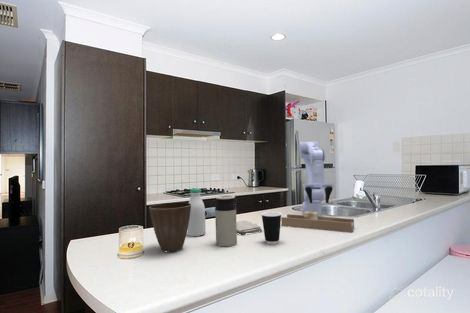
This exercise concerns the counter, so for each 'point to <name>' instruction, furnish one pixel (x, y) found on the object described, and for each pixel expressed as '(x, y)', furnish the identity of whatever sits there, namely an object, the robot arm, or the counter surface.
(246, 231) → the washcloth
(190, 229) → the milk bottle
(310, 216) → the maple block
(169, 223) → the plant pot
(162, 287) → the counter surface
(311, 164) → the robot arm
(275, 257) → the counter surface
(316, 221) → the trap track
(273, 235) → the dixie cup
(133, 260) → the counter surface
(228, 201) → the travel mug
